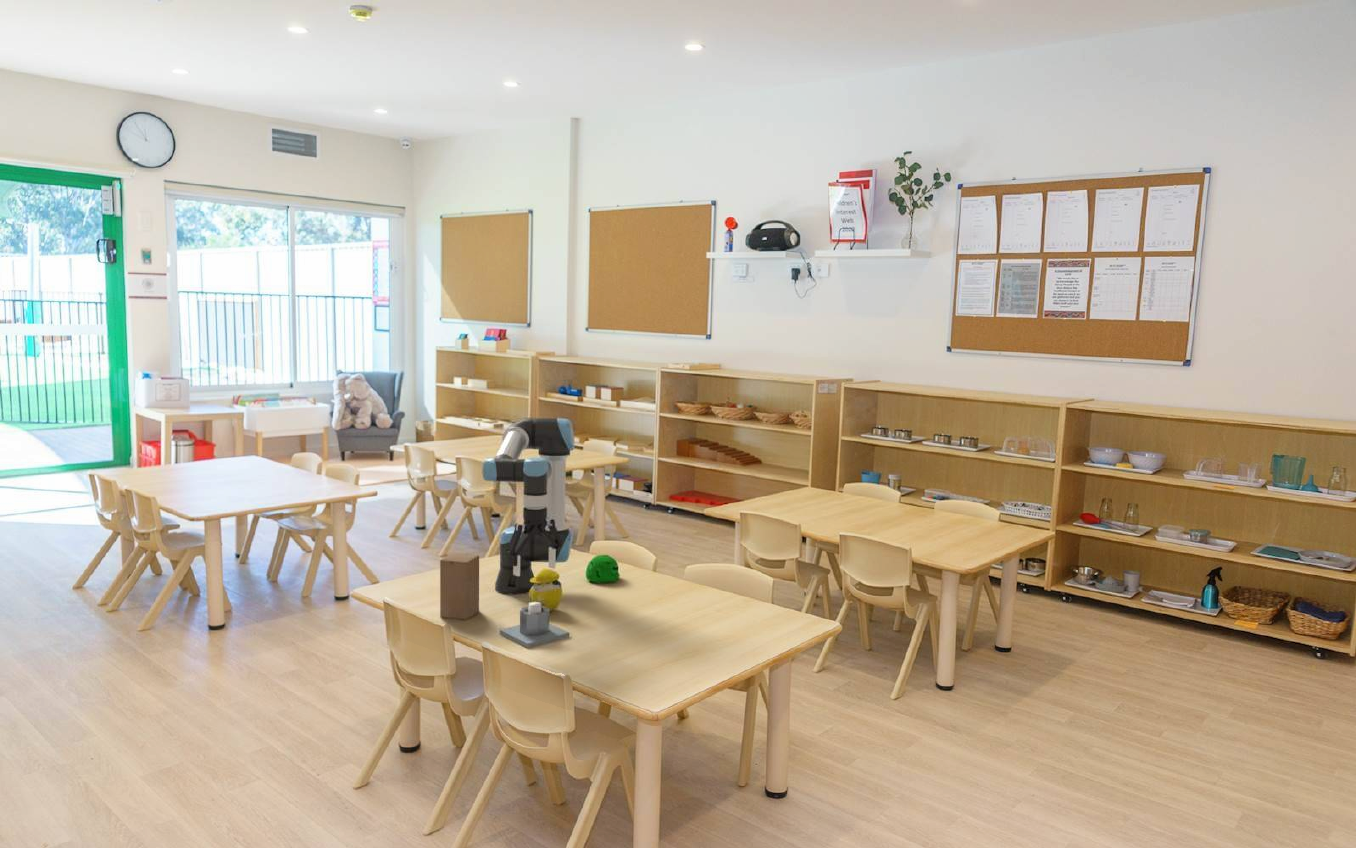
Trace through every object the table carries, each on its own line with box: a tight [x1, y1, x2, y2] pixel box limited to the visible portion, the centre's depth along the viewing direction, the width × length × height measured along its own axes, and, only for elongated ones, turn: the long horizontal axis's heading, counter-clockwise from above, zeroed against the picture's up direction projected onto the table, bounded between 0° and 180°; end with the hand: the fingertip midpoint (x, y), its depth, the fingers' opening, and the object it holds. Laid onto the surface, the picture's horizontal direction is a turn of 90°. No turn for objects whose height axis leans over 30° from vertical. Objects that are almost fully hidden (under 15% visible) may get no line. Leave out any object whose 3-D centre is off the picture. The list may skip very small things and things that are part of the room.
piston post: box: [499, 602, 571, 649], centre depth 293 cm, size 16×16×10 cm
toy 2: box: [585, 554, 621, 584], centre depth 356 cm, size 14×13×10 cm
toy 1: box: [528, 568, 563, 612], centre depth 317 cm, size 13×10×15 cm
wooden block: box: [439, 552, 480, 621], centre depth 311 cm, size 10×10×20 cm
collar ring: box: [519, 605, 550, 636], centre depth 293 cm, size 9×9×7 cm
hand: (534, 571), depth 293 cm, fingers open, 13 cm apart
